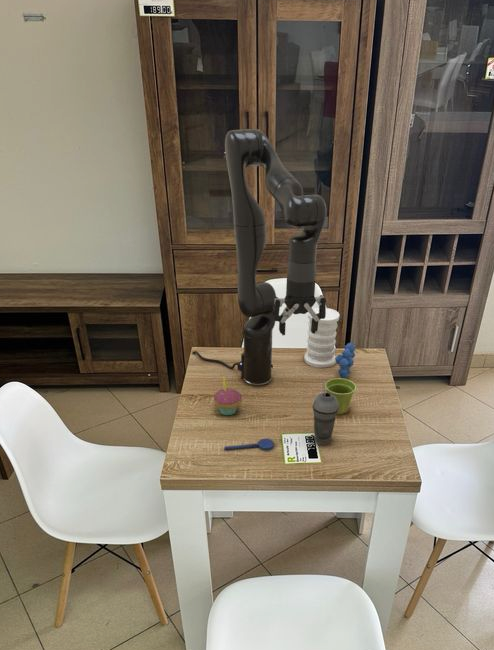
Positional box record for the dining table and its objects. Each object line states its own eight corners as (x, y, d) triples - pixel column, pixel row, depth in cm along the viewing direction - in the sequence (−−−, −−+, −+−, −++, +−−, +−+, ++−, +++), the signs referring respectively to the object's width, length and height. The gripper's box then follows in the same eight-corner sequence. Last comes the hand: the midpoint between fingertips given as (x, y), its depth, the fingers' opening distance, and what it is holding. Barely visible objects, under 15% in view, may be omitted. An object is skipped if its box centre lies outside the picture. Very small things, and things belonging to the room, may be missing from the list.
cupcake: (208, 410, 166) (206, 376, 160) (229, 400, 172) (228, 367, 165) (227, 422, 162) (226, 387, 155) (247, 411, 167) (248, 377, 160)
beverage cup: (327, 451, 152) (333, 390, 141) (305, 442, 155) (309, 381, 144) (339, 438, 157) (346, 378, 146) (317, 430, 160) (322, 370, 149)
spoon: (225, 454, 149) (225, 451, 148) (223, 444, 152) (223, 442, 152) (275, 449, 151) (275, 447, 151) (272, 440, 155) (272, 437, 154)
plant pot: (351, 419, 165) (354, 395, 161) (320, 415, 167) (323, 391, 162) (354, 403, 173) (357, 380, 168) (325, 399, 174) (327, 376, 170)
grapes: (338, 366, 194) (341, 335, 187) (356, 370, 192) (360, 339, 185) (328, 381, 184) (331, 349, 178) (347, 385, 182) (351, 353, 176)
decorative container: (302, 352, 201) (305, 307, 191) (333, 352, 202) (337, 307, 192) (305, 367, 191) (308, 320, 182) (338, 367, 192) (343, 320, 183)
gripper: (323, 270, 145) (319, 326, 154) (271, 272, 142) (270, 328, 151) (331, 280, 139) (326, 337, 148) (277, 282, 136) (275, 340, 145)
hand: (298, 333), depth 150 cm, fingers open, 8 cm apart
